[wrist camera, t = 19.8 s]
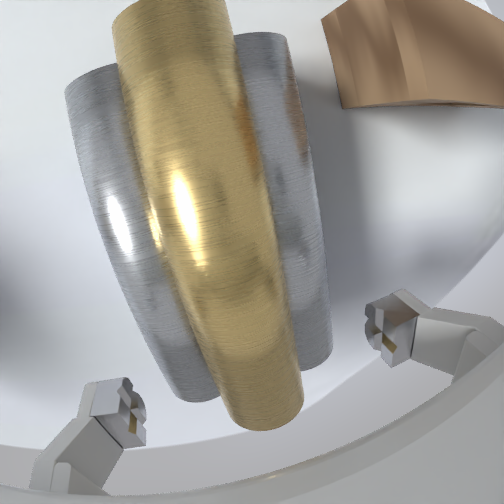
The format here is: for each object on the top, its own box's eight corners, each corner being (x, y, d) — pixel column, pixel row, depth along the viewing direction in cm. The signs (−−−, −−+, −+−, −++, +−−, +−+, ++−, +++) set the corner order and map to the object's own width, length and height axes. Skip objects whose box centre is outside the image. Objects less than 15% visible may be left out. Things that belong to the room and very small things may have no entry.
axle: (124, 49, 7) (98, 11, 4) (219, 26, 7) (232, -20, 4) (222, 384, 12) (233, 439, 9) (290, 364, 12) (315, 415, 9)
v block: (95, 107, 10) (49, 89, 6) (258, 67, 11) (300, 29, 7) (170, 338, 15) (171, 408, 10) (301, 299, 16) (344, 355, 11)
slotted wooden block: (321, 19, 11) (392, -28, 5) (446, 38, 12) (514, 28, 7) (342, 108, 13) (429, 98, 7) (460, 107, 14) (532, 111, 9)
